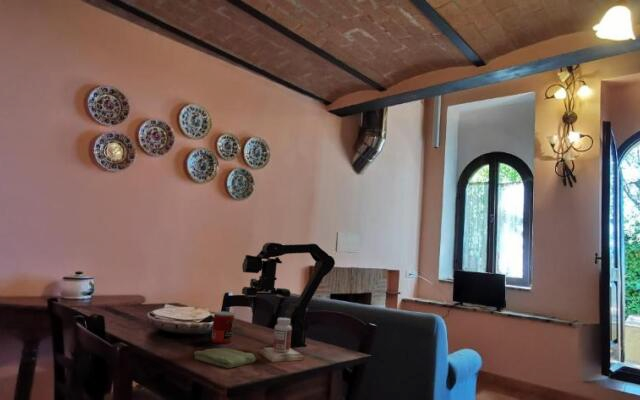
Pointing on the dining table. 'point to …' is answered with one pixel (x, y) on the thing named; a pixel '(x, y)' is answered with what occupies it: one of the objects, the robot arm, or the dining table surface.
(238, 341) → the dining table surface
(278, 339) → the pill bottle
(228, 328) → the canned food
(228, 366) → the washcloth
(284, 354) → the stand
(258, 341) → the dining table surface
